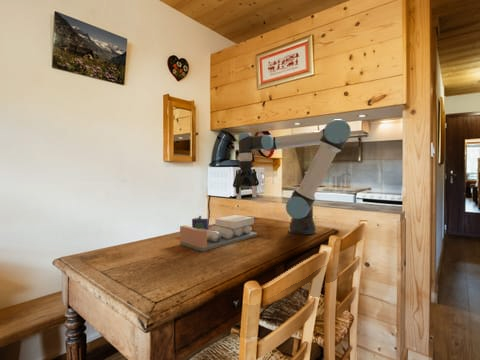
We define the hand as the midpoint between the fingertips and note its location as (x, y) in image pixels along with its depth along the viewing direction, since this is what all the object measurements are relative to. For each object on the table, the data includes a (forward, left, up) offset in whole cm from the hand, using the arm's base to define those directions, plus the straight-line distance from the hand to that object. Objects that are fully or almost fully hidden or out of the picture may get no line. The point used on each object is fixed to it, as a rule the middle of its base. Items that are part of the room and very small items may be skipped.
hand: (247, 198), depth 153 cm
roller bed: (+1, +18, -20) cm, 27 cm away
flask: (+19, +19, -20) cm, 34 cm away
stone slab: (+1, +9, -14) cm, 16 cm away
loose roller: (+1, +28, -19) cm, 33 cm away
